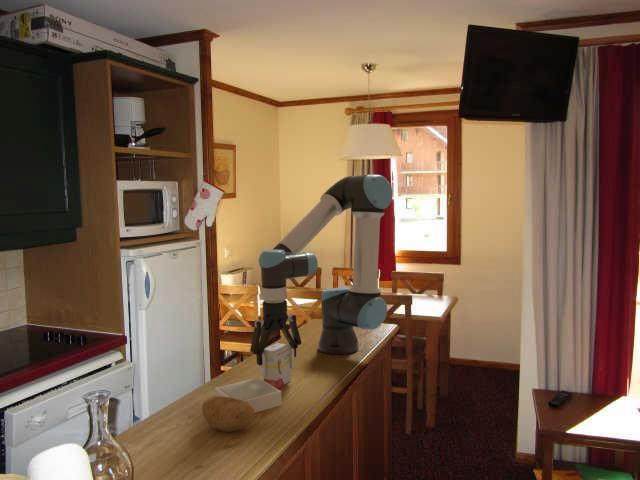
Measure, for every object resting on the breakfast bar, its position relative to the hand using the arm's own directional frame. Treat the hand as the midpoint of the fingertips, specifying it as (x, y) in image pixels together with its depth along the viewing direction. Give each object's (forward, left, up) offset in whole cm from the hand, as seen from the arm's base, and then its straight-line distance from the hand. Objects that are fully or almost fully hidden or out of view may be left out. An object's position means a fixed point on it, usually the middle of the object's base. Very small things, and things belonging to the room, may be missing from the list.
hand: (277, 371), depth 164 cm
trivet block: (+14, +8, -4) cm, 17 cm away
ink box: (0, 0, -4) cm, 4 cm away
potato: (+25, +20, -4) cm, 32 cm away
